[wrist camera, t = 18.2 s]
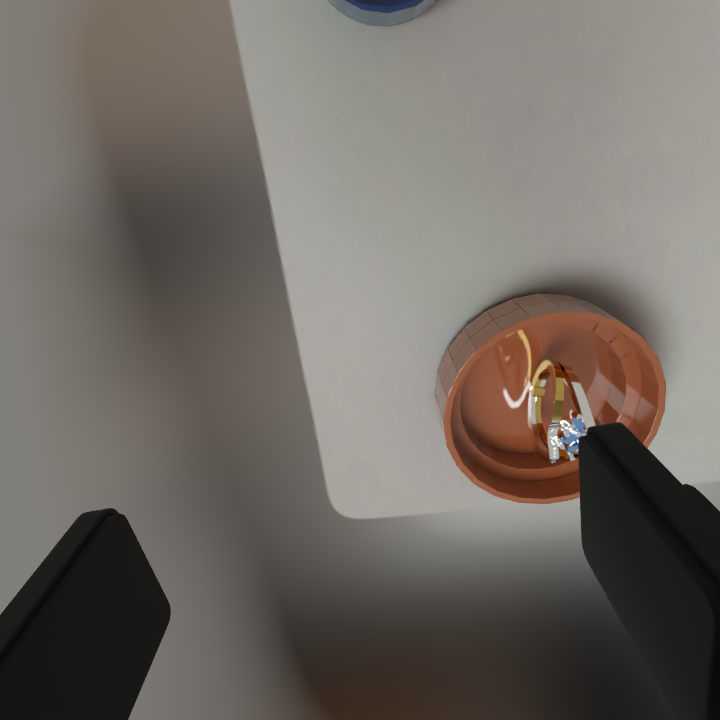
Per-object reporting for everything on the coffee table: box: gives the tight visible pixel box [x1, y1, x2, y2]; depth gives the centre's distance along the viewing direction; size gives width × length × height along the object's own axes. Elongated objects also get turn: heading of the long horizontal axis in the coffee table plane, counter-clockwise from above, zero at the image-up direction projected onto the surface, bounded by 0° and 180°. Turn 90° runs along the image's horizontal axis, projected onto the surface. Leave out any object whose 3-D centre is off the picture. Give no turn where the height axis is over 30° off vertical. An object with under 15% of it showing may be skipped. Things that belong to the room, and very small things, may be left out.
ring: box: [528, 360, 595, 463], centre depth 33 cm, size 7×3×8 cm, turn 175°
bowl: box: [435, 293, 666, 504], centre depth 35 cm, size 15×15×5 cm
